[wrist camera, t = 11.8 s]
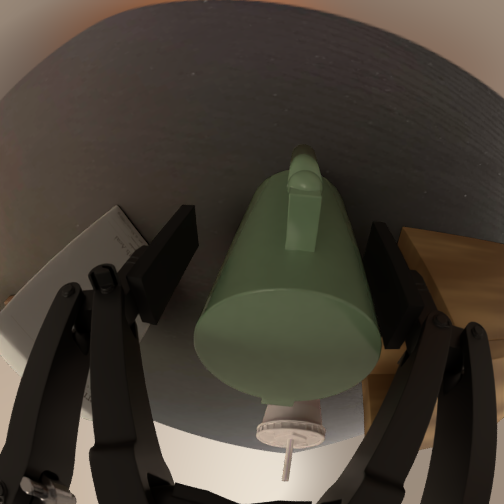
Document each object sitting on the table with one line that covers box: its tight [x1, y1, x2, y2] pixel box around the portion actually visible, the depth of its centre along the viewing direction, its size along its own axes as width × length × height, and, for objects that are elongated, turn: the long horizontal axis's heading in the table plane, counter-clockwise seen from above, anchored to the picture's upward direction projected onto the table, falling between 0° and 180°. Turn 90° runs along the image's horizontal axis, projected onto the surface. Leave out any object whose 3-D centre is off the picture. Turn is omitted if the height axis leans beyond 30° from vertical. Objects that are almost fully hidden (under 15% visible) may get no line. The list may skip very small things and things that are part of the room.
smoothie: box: [256, 399, 326, 481], centre depth 22 cm, size 6×6×14 cm
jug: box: [193, 144, 382, 407], centre depth 14 cm, size 10×7×12 cm, turn 0°
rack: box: [362, 227, 504, 450], centre depth 16 cm, size 14×14×12 cm
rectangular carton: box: [0, 206, 150, 421], centre depth 18 cm, size 9×9×15 cm
